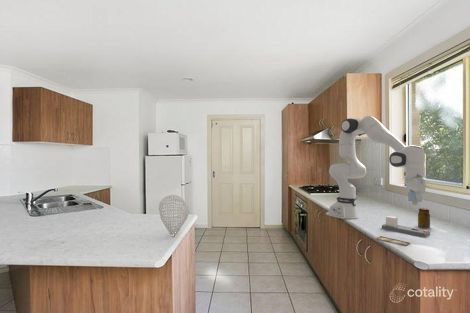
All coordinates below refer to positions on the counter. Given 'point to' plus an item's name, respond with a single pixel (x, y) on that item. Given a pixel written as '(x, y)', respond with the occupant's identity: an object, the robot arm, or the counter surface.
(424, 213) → the condiment
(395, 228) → the power strip
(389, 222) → the plug
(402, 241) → the oak pad
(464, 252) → the counter surface
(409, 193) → the light blue block
